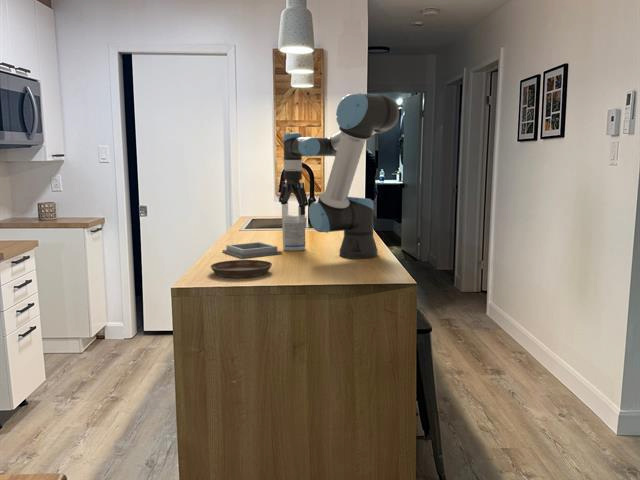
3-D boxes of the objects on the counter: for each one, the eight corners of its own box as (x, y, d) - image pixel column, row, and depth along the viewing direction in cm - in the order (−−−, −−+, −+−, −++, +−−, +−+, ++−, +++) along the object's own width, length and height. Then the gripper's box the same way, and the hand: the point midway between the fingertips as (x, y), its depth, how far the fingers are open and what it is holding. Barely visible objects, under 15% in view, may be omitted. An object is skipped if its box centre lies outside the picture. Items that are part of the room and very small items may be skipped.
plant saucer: (214, 268, 201) (214, 259, 200) (272, 267, 202) (272, 258, 202) (207, 281, 180) (206, 270, 180) (271, 279, 182) (271, 269, 181)
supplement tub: (309, 249, 238) (309, 215, 236) (290, 252, 233) (289, 216, 231) (297, 246, 246) (297, 213, 244) (278, 249, 241) (278, 214, 239)
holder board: (281, 253, 228) (281, 246, 228) (241, 258, 218) (241, 250, 218) (261, 248, 243) (260, 241, 243) (222, 252, 233) (222, 245, 233)
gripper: (316, 171, 226) (316, 223, 230) (285, 169, 247) (286, 217, 250) (301, 171, 222) (301, 224, 226) (270, 169, 243) (271, 218, 246)
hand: (293, 221), depth 238 cm, fingers open, 13 cm apart
